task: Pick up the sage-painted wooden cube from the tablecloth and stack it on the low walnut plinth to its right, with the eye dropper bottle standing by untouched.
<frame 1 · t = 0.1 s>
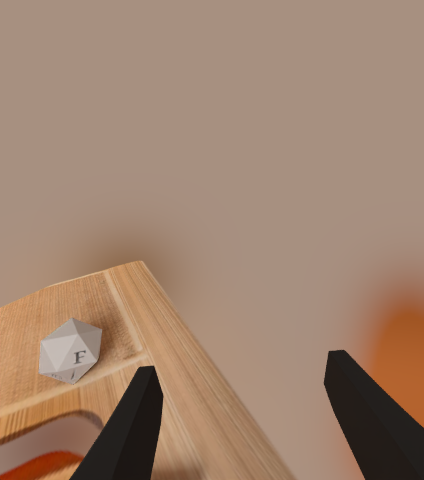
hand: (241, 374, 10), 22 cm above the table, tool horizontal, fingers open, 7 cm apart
die: (80, 369, 39), on the table
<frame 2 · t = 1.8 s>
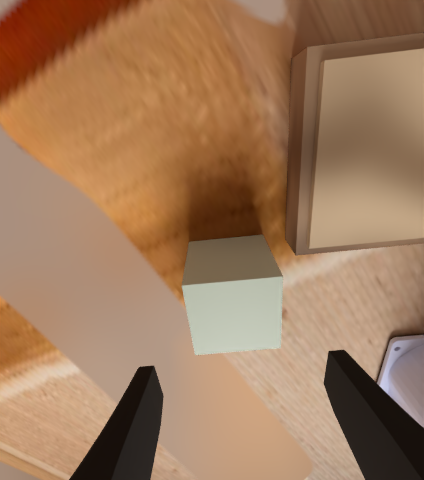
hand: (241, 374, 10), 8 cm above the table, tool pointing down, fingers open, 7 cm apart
plinth: (356, 155, 14), on the table
sage block: (228, 268, 18), on the table
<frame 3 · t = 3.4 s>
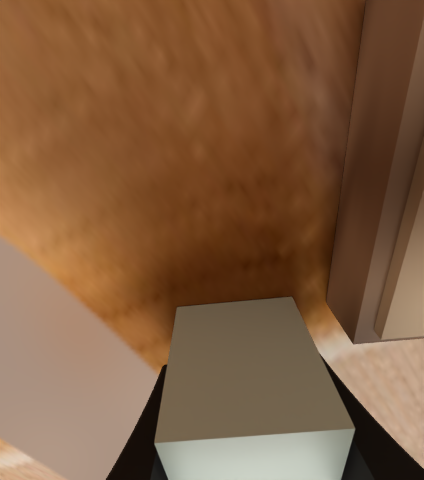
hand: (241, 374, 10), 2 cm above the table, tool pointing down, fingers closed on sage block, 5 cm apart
sage block: (237, 342, 12), on the table, touching gripper
when the fingers open (5 cm above the table, at t = 6.4 s): sage block stays where it is, resting on plinth.
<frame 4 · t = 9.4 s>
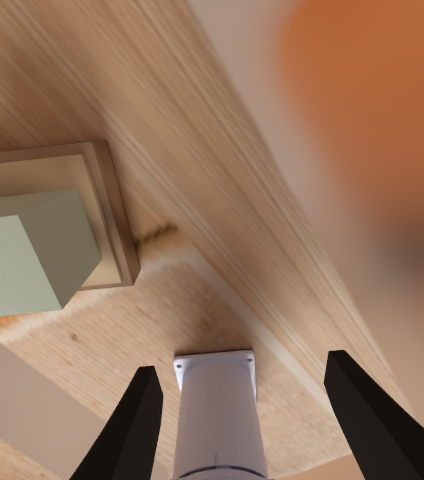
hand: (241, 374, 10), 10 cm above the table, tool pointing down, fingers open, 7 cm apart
plinth: (72, 217, 18), on the table
sage block: (52, 231, 16), point 3 cm above the table, touching plinth
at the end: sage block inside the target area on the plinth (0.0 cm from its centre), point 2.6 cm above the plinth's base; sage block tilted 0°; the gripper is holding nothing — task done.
